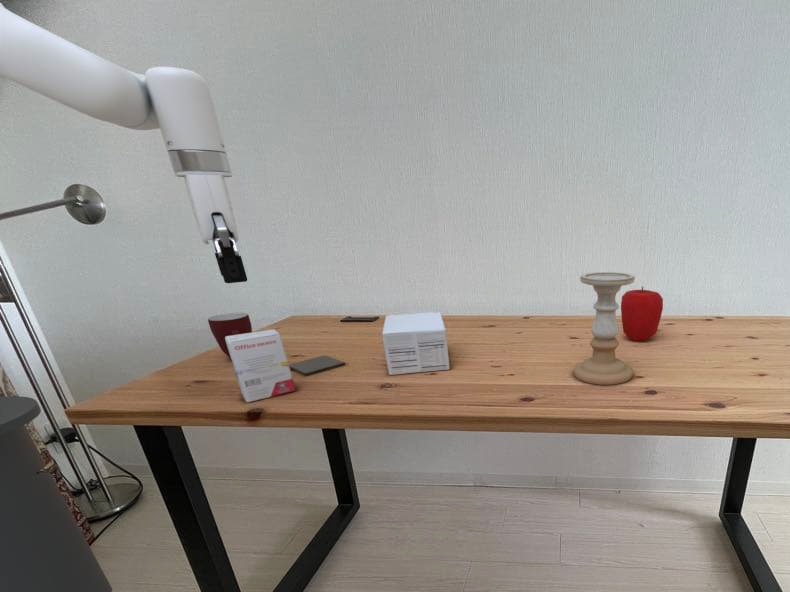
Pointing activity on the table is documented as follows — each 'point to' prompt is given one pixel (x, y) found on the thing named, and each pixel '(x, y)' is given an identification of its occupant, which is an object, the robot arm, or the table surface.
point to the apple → (641, 314)
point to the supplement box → (415, 343)
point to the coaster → (315, 365)
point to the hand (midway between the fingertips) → (234, 278)
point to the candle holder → (605, 332)
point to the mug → (229, 327)
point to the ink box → (260, 364)
